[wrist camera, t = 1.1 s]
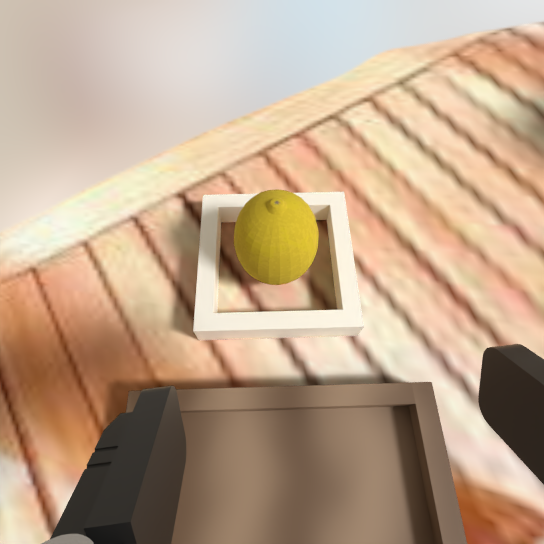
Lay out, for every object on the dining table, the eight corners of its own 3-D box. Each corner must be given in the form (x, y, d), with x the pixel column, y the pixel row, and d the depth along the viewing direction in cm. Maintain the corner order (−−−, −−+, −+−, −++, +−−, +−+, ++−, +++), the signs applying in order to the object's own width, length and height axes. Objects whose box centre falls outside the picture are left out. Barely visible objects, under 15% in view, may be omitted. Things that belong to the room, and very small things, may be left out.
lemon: (238, 302, 26) (225, 244, 19) (239, 237, 29) (229, 164, 22) (314, 301, 26) (330, 243, 19) (309, 236, 29) (322, 163, 22)
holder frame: (198, 340, 25) (193, 331, 23) (207, 210, 30) (203, 195, 28) (357, 335, 25) (363, 326, 23) (339, 207, 30) (343, 191, 28)
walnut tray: (99, 708, 17) (79, 738, 15) (139, 396, 23) (128, 390, 22) (481, 693, 17) (505, 720, 16) (419, 387, 24) (431, 381, 22)
